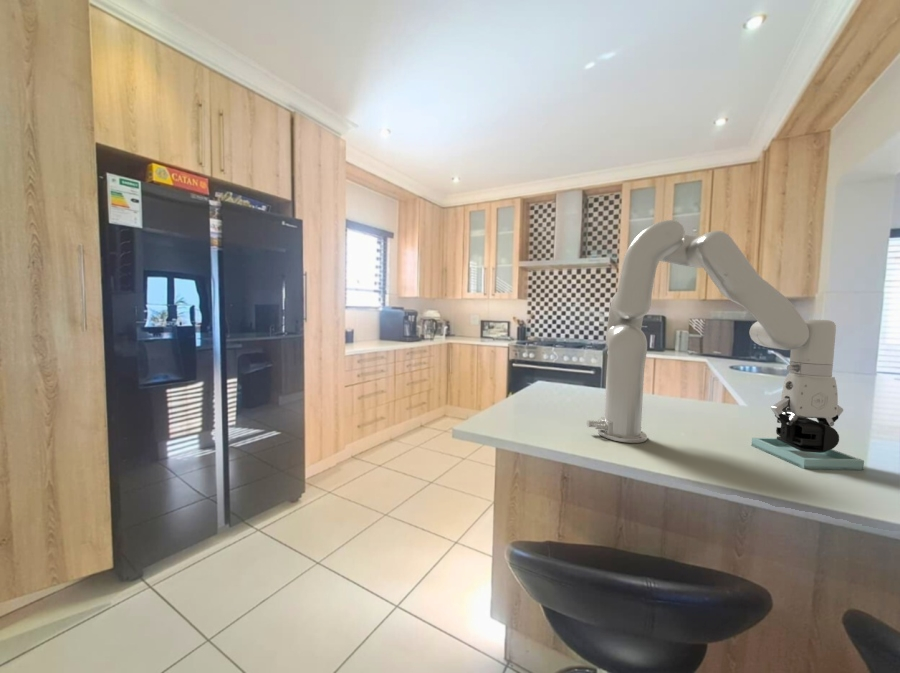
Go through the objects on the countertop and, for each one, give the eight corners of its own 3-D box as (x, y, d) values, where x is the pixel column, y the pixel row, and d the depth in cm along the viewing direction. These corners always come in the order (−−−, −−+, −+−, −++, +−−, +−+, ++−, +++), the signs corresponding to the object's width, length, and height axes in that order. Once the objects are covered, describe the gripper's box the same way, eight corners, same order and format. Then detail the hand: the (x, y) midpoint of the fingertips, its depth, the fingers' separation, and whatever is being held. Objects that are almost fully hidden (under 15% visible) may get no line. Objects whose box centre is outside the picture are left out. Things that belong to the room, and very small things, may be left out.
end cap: (838, 455, 85) (841, 426, 84) (802, 452, 86) (805, 424, 86) (805, 440, 95) (808, 414, 94) (774, 438, 96) (776, 412, 96)
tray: (803, 468, 84) (804, 459, 83) (751, 445, 98) (752, 437, 98) (863, 470, 84) (864, 460, 83) (802, 446, 98) (802, 438, 98)
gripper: (788, 371, 86) (782, 445, 87) (863, 373, 86) (856, 446, 87) (761, 367, 93) (756, 434, 94) (829, 368, 93) (824, 435, 94)
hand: (804, 439), depth 91 cm, fingers closed on end cap, 8 cm apart
